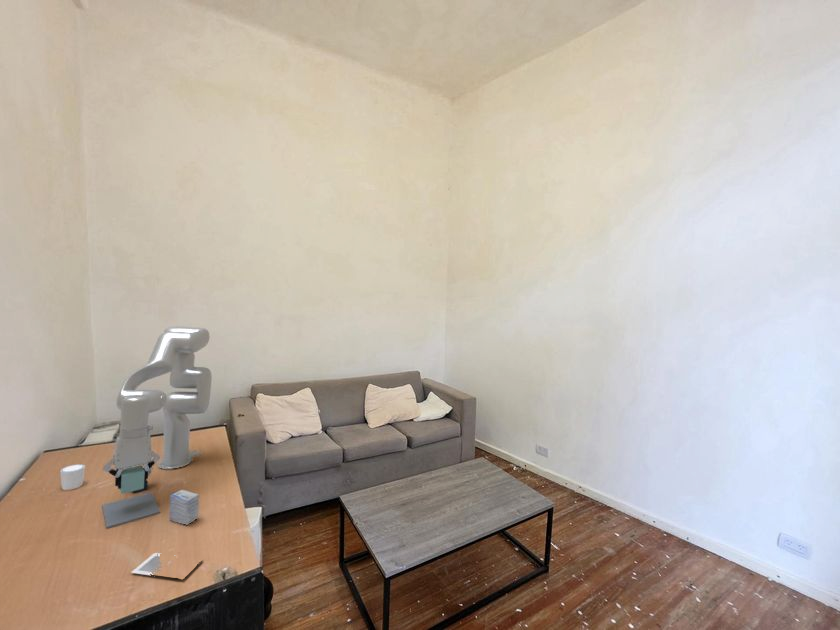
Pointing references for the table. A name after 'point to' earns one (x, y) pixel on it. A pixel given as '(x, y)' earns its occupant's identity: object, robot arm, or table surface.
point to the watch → (144, 483)
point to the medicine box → (184, 506)
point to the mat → (129, 509)
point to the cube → (132, 479)
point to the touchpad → (150, 565)
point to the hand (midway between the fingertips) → (131, 483)
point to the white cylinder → (72, 476)
